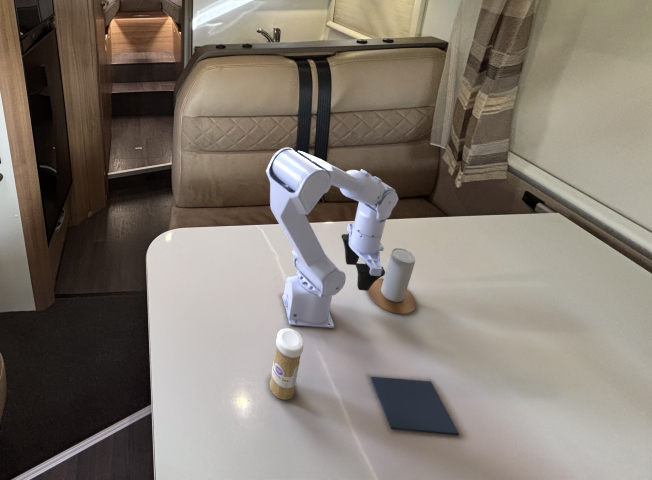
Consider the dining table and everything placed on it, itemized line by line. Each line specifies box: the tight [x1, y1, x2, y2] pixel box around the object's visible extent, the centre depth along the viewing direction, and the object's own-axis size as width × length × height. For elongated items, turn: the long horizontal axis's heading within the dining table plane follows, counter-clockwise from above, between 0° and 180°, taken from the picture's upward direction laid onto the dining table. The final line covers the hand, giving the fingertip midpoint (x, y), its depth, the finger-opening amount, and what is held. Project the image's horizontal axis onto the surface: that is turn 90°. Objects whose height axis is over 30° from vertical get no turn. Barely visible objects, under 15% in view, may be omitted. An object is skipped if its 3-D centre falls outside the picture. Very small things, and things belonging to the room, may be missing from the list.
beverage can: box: [381, 247, 416, 302], centre depth 97 cm, size 5×5×12 cm
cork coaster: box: [367, 278, 417, 316], centre depth 100 cm, size 10×10×1 cm
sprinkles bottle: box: [269, 327, 305, 401], centre depth 78 cm, size 5×5×14 cm
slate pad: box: [370, 376, 460, 436], centre depth 77 cm, size 11×9×1 cm
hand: (356, 275), depth 98 cm, fingers open, 7 cm apart
